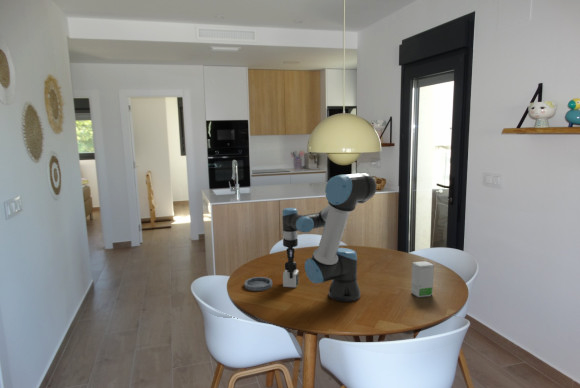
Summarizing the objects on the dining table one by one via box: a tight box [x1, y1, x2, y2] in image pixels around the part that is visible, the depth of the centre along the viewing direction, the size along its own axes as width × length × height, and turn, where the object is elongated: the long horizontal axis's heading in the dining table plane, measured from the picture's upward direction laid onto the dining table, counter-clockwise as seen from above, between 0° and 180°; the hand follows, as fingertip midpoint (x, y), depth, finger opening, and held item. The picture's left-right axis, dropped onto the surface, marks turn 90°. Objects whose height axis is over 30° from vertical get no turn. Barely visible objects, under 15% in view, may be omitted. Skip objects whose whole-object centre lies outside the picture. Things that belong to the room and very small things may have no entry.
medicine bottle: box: [282, 261, 300, 288], centre depth 209 cm, size 7×7×12 cm
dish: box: [244, 276, 273, 292], centre depth 209 cm, size 14×14×2 cm
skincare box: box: [410, 261, 435, 298], centre depth 194 cm, size 8×7×16 cm
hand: (290, 280), depth 210 cm, fingers closed on medicine bottle, 8 cm apart
